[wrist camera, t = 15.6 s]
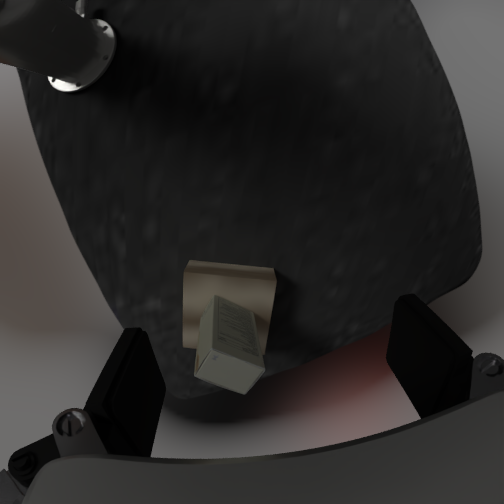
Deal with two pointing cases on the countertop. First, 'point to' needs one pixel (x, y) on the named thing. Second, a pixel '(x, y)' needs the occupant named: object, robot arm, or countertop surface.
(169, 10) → the countertop surface
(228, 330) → the skincare box
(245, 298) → the birch block
